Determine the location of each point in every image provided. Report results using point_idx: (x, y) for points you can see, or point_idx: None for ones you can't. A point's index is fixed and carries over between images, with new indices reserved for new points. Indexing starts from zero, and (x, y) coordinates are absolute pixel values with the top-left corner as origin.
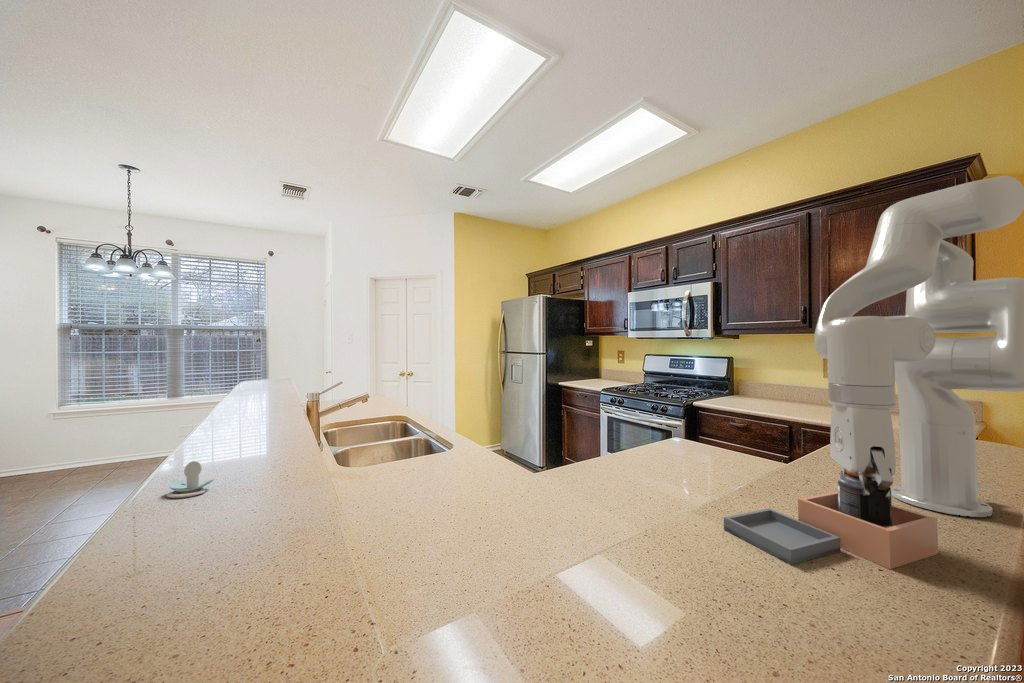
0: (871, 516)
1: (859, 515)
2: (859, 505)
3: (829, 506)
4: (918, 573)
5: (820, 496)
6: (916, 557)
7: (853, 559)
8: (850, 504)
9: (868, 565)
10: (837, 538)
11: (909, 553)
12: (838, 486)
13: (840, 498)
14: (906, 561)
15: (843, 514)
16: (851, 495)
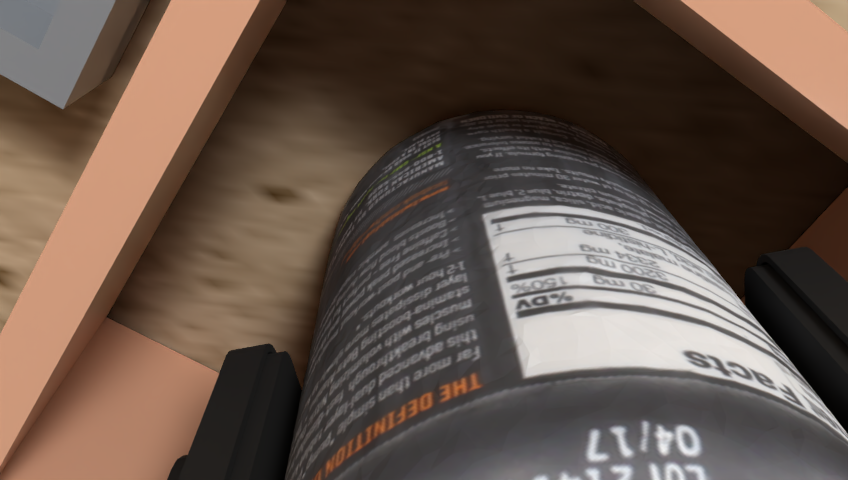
0: (176, 466)
1: (247, 363)
2: (219, 446)
3: (771, 89)
4: None
5: (718, 16)
6: None
7: (31, 146)
8: (338, 349)
9: (8, 222)
10: (20, 84)
11: None
12: (580, 352)
13: (471, 272)
14: None
15: (81, 229)
16: (319, 449)
